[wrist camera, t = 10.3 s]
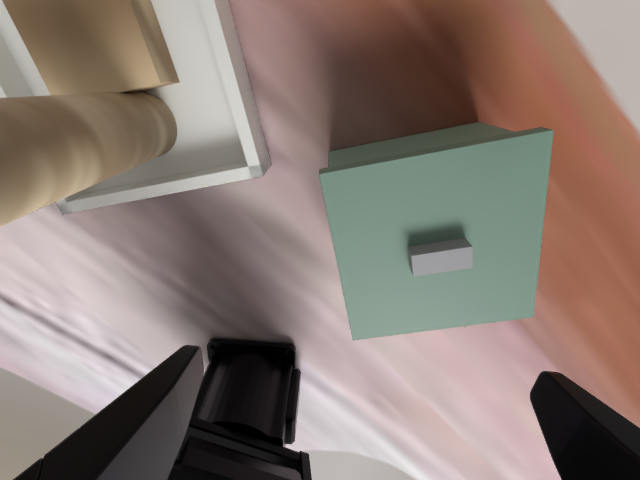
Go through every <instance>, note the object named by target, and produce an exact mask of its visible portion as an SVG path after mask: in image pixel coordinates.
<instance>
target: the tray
mask: <svg viewBox="0 0 640 480" xmlns="http://www.w3.org/2000/svg"><path fill="white" fill-rule="evenodd" d="M151 2H152V5H153V8H154V11H155V13H156V16H157V19H158V22H159V25H160V28H161V30H162V33H163V36H164V39H165V42H166V45H167V47H168V50H169V53H170V56H171V59H172V62H173V64H174V67H175V70H176V73H177V76H178V78H179V81H180V83H175V84H171V85H167V86H163V87H159V88H155V89H151V90H146V91H144V92H148V93H151V94H153V95H155V96H157V97H158V98H160V99H161V100H162V101H163V102H164V103H165V104H166V105H167V106H168V107H169V109H170V110H171V112H172V114H173V116H174V118H175V121H176V125H177V138H176V141H175V144H174V146H173V147H172V148H171V150H170V151H168V152H167V153H166V154H163V155H161V156H159V157H157V158H154V159H152V160H150V161H148V162H145V163H143V164H141V165H138V166H136V167H134V168H132V169H129V170H127V171H125V172H122V173H120V174H118V175H116V176H113V177H111V178H109V179H106V180H104V181H102V182H100V183H97V184H95V185H93V186H91V187H88V188H86V189H84V190H81V191H79V192H77V193H75V194H72V195H70V196H68V197H65V198H63V199H61V200H59V201H56V202H55V203H56V204H57V206H58V208H59V209H60V211H61V213H62V215H64V214H69V213H74V212H79V211H85V210H90V209H95V208H100V207H105V206H111V205H116V204H121V203H126V202H131V201H137V200H142V199H147V198H152V197H157V196H163V195H168V194H173V193H178V192H183V191H189V190H194V189H199V188H204V187H209V186H215V185H220V184H225V183H230V182H235V181H241V180H246V179H251V178H256V177H261V176H264V174H265V173H266V172H267V170H268V169H269V167H270V166H271V165H272V164H271V160H270V157H269V153H268V149H267V145H266V141H265V138H264V134H263V130H262V126H261V123H260V119H259V115H258V111H257V107H256V104H255V100H254V96H253V92H252V88H251V85H250V81H249V77H248V73H247V70H246V66H245V62H244V58H243V54H242V51H241V47H240V43H239V39H238V35H237V32H236V28H235V24H234V20H233V16H232V13H231V9H230V5H229V1H228V0H151ZM48 95H51V94H50V92H49V90H48V88H47V87H46V85H45V83H44V81H43V79H42V77H41V75H40V73H39V71H38V69H37V67H36V65H35V63H34V61H33V59H32V58H31V56H30V54H29V52H28V50H27V48H26V46H25V44H24V42H23V40H22V38H21V36H20V34H19V32H18V30H17V29H16V27H15V25H14V23H13V21H12V19H11V17H10V15H9V13H8V11H7V9H6V7H5V5H4V3H3V1H2V0H0V98H9V97H29V96H48Z"/></svg>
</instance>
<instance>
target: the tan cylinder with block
mask: <svg viewBox="0 0 640 480" xmlns="http://www.w3.org/2000/svg"><path fill="white" fill-rule="evenodd" d="M2 1H3V3H4V5H5V7H6V9H7V11H8V13H9V15H10V17H11V19H12V21H13V23H14V25H15V27H16V29H17V30H18V32H19V34H20V36H21V38H22V40H23V42H24V44H25V46H26V48H27V50H28V52H29V54H30V56H31V58H32V59H33V61H34V63H35V65H36V67H37V69H38V71H39V73H40V75H41V77H42V79H43V81H44V83H45V85H46V87H47V88H48V90H49V92H50V94H51V95H48V96H29V97H9V98H0V226H2V225H4V224H6V223H8V222H11V221H13V220H15V219H18V218H20V217H22V216H24V215H27V214H29V213H31V212H34V211H36V210H38V209H40V208H43V207H45V206H47V205H50V204H52V203H54V202H56V201H59V200H61V199H63V198H65V197H68V196H70V195H72V194H75V193H77V192H79V191H81V190H84V189H86V188H88V187H91V186H93V185H95V184H97V183H100V182H102V181H104V180H106V179H109V178H111V177H113V176H116V175H118V174H120V173H122V172H125V171H127V170H129V169H132V168H134V167H136V166H138V165H141V164H143V163H145V162H148V161H150V160H152V159H154V158H157V157H159V156H161V155H163V154H166V153H167V152H168V151H170V150H171V148H172V147H173V146H174V144H175V141H176V138H177V125H176V121H175V118H174V116H173V114H172V112H171V110H170V109H169V107H168V106H167V105H166V104H165V103H164V102H163V101H162V100H161V99H160V98H158V97H157V96H155V95H153V94H151V93H148V92H144V91H146V90H151V89H155V88H159V87H163V86H167V85H171V84H175V83H180V81H179V78H178V76H177V73H176V70H175V67H174V64H173V62H172V59H171V56H170V53H169V50H168V47H167V45H166V42H165V39H164V36H163V33H162V30H161V28H160V25H159V22H158V19H157V16H156V13H155V11H154V8H153V5H152V2H151V0H2Z"/></svg>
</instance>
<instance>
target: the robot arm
mask: <svg viewBox="0 0 640 480" xmlns="http://www.w3.org/2000/svg"><path fill="white" fill-rule="evenodd" d="M214 345H216V346H214ZM287 350H290V351H287ZM207 351H208V359H209V364H208V366H207V369H206V371H205V373H204V366H203V358H202V351H201V348H200V347H199V346H192V345H185V346H183V347H181V348H180V349H179V350H177V351H176V352H175V353H174V354H172V355H171V356H170V357H168V358H167V359H166V360H165V361H163V362H162V363H161V364H160V365H158V366H157V367H156V368H154V369H153V370H152V371H151V372H149V373H148V374H147V375H146V376H144V377H143V378H142V379H140V380H139V381H138V382H137V383H135V384H134V385H133V386H132V387H130V388H129V389H128V390H127V391H125V392H124V393H123V394H121V395H120V396H119V397H118V398H116V399H115V400H114V401H113V402H111V403H110V404H109V405H107V406H106V407H105V408H104V409H102V410H101V411H100V412H99V413H97V414H96V415H95V416H94V417H92V418H91V419H90V420H88V421H87V422H86V423H85V424H83V425H82V426H81V427H80V428H78V429H77V430H76V431H74V432H73V433H72V434H71V435H69V436H68V437H67V438H66V439H64V440H63V441H62V442H60V443H59V444H58V445H57V446H55V447H54V448H53V449H52V450H50V451H49V452H48V453H47V454H45V456H44V458H41V459H39V460H38V461H36V462H35V463H34V464H32V465H31V466H30V467H29V468H27V469H26V470H25V471H24V472H22V473H21V474H20V475H18V476H17V477H16V478H14V479H13V480H312V478H311V469H310V461H309V454H308V453H305V452H302V451H300V452H297V451H294V450H291V449H288V448H285V444H292V443H293V442H294V441H295V433H296V423H297V413H298V403H299V393H300V375H301V372H300V370H299V369H295V358H296V348H295V346H294V345H292V344H286V343H272V342H258V341H245V340H231V339H217V338H213V339H211V340H210V341H209V343H208V345H207ZM203 373H204V376H203ZM530 400H531V403H532V406H533V409H534V411H535V414H536V417H537V419H538V422H539V425H540V427H541V430H542V433H543V435H544V438H545V441H546V444H547V446H548V449H549V452H550V454H551V457H552V459H553V462H554V464H555V466H556V468H557V471H558V473H559V475H560V477H561V479H562V480H640V428H639V427H637V426H636V425H635V424H633V423H632V422H630V421H629V420H627V419H626V418H624V417H623V416H622V415H620V414H619V413H617V412H616V411H614V410H613V409H612V408H610V407H609V406H607V405H606V404H604V403H603V402H602V401H600V400H599V399H597V398H596V397H594V396H593V395H591V394H590V393H589V392H587V391H586V390H584V389H583V388H581V387H580V386H579V385H577V384H576V383H574V382H573V381H571V380H570V379H569V378H567V377H566V376H564V375H563V374H561V373H558V372H550V371H543V372H541V373H540V374H539V376H538V378H537V380H536V382H535V384H534V386H533V388H532V390H531V392H530Z"/></svg>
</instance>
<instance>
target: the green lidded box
mask: <svg viewBox="0 0 640 480" xmlns="http://www.w3.org/2000/svg"><path fill="white" fill-rule="evenodd" d="M553 132H554V130H552V129H547V128H543V127H539V128H533V129H528V130H523V131H518V132H513V131H510V130H506V129H503V128H499V127H495V126H492V125H488V124H485V123H481V122H476V123H471V124H466V125H461V126H456V127H451V128H446V129H441V130H435V131H430V132H425V133H420V134H415V135H410V136H405V137H400V138H395V139H390V140H385V141H380V142H374V143H369V144H364V145H359V146H354V147H349V148H344V149H339V150H334V151H329V166H328V168H324V169H320V170H319V177H320V182H321V187H322V192H323V197H324V201H325V206H326V211H327V216H328V221H329V226H330V231H331V236H332V241H333V246H334V251H335V256H336V260H337V265H338V270H339V275H340V280H341V285H342V290H343V295H344V300H345V305H346V310H347V315H348V319H349V324H350V329H351V334H352V339H353V340H359V339H367V338H375V337H383V336H390V335H398V334H406V333H414V332H422V331H429V330H437V329H445V328H453V327H461V326H469V325H476V324H484V323H492V322H500V321H508V320H516V319H523V318H531V317H534V307H535V298H536V289H537V280H538V270H539V261H540V252H541V243H542V233H543V224H544V215H545V206H546V197H547V187H548V178H549V169H550V160H551V150H552V141H553Z"/></svg>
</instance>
